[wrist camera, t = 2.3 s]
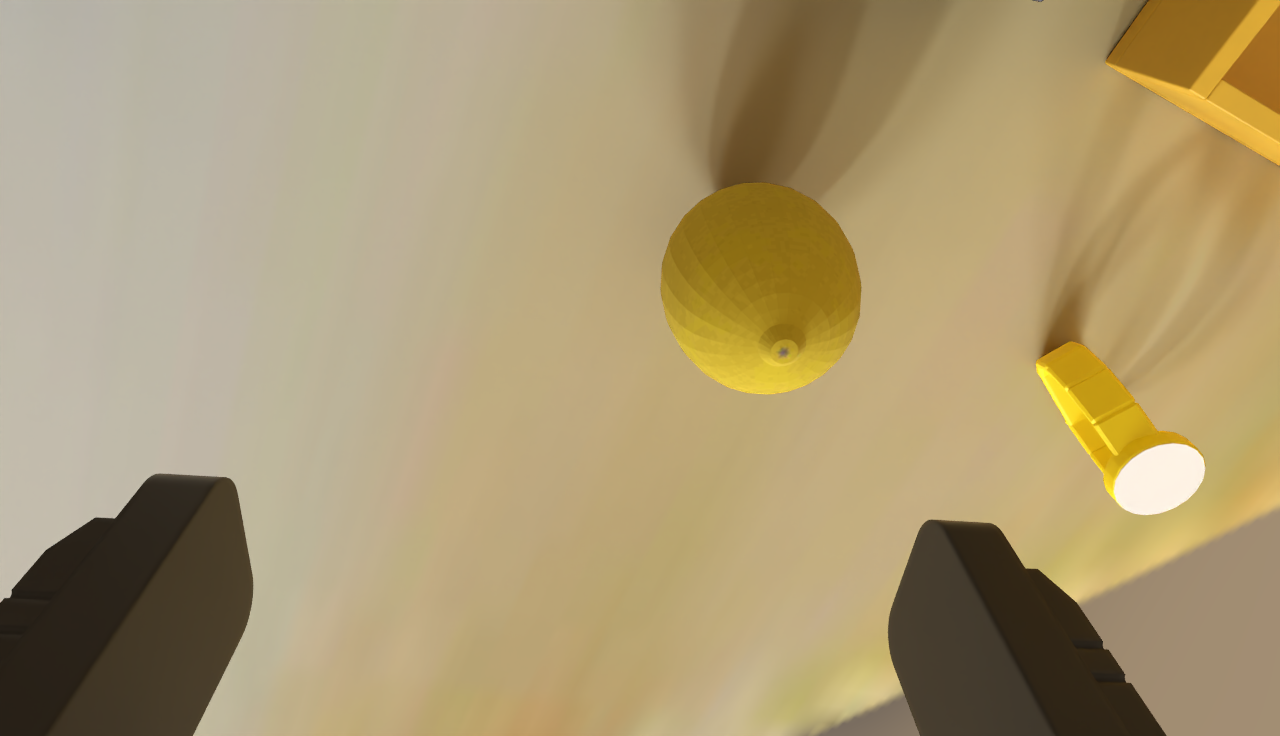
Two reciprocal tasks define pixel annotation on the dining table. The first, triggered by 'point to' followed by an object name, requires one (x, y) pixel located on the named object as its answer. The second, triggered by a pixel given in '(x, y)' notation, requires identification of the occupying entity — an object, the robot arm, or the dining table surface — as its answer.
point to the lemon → (761, 288)
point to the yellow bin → (1211, 64)
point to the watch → (1120, 433)
